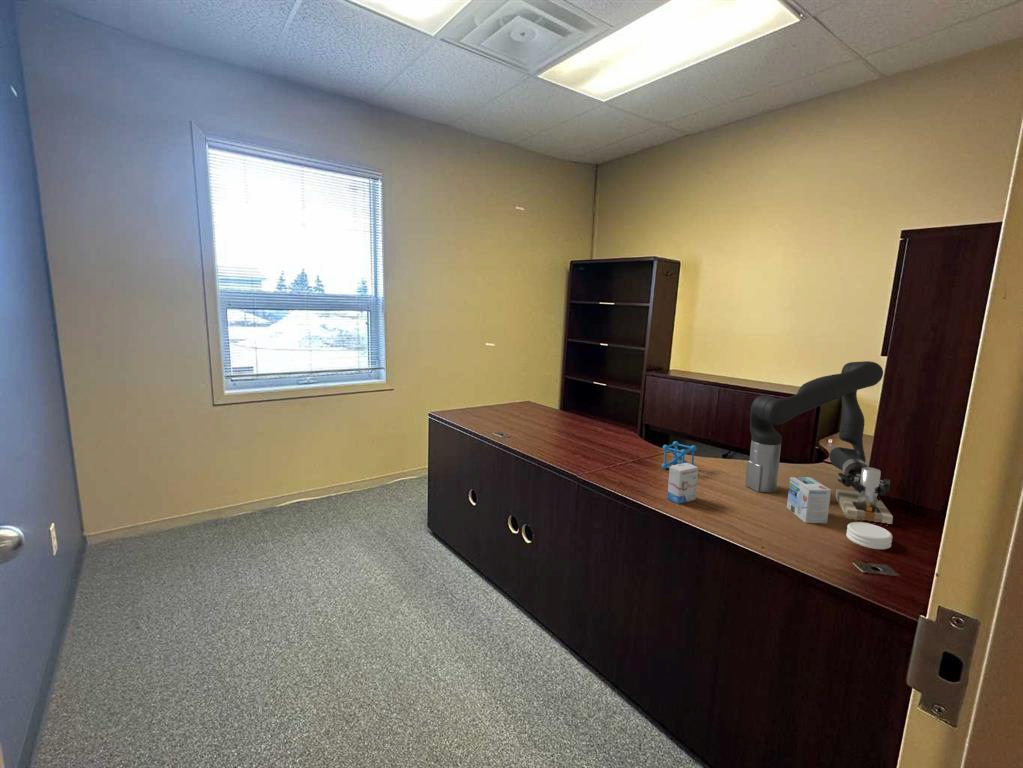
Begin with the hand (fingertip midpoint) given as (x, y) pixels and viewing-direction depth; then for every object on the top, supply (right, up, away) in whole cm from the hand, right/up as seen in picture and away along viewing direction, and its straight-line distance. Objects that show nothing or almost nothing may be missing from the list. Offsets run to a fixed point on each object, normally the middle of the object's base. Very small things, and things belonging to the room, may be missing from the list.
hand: (871, 490), depth 140 cm
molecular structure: (-42, -2, +46) cm, 62 cm away
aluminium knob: (+1, -8, +4) cm, 9 cm away
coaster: (-9, -12, -11) cm, 18 cm away
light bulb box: (-17, -9, +5) cm, 20 cm away
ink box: (-51, -7, +17) cm, 54 cm away
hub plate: (+3, -8, +8) cm, 12 cm away
